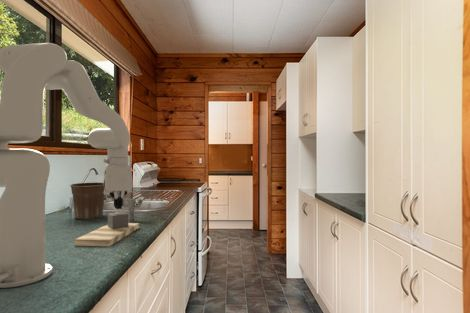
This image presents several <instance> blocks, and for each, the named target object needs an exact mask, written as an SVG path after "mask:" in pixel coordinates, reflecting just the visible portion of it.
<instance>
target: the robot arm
mask: <svg viewBox="0 0 470 313" xmlns="http://www.w3.org/2000/svg"><path fill="white" fill-rule="evenodd" d="M0 70H1V71H2V72H3V74H4V76H3V78H2V83H1V92H0V188H4V190H3V191H2V192H3V193H2V194H1V196H0V288H1V289H2V288H4V289H5V288H6V289H7V288H8V289H9V288H14V287H15V288H16V287H21V286H26V285H30V284H33V283H37V282H39V281H41V280H44V279H45V278H47V277H49V276H50V275H51V274H52V273H53V265H51V264H50V263H46V195H47V194H46V192H47V191H46V190H47V185H48V181H49V176H50V171H51V170H50V169H51V165H50V161H49V159H48V158H47V156H46V155H45V154H44V153H42V152H40V151H39V150H35V149H31V148H8V145H9V144H28V143H34V142H36V141H38V140H39V139H41V137H42V136H43V129H44V97H45V96H44V95H45V90H63V93H64V94H65V96H66V98H67V99H68V100H69V103H70V104H71V106H72V108H73V109H74V111H75V112H76V113H77V114H78V115H80V116H83V117H85V118H87V119H91V120H94V121H97V122H98V123H102V125H104V126H107V128H106V127H104V128H95V129H92V130H91V131H90V132H89V134H88V136H87V140H88V143H89V145H90V146H91V147H92V148H95V149H97V150H98V149H99V150H106V151H107V157H106V158H104V159H103V163H104V164H105V163H106V166H105V168H104V175H103V183H104V194H105V196H110V197H112V199H113V208H114V209H116V210H122V209H123V207H122V206H123V199H124V198H125V196H126V195H127V194H130V193H132V192H133V187H134V181H133V173H132V167H131V165H130V164H129V145H130V143H131V134H130V132H129V129H128V127H127V124H126V122H125V120H124V119H123V117H122V116H121V114H119V113H118V112H117V111H115V110H114V109H113V108H112V107H110V106H109V105H108V104H106V103H104V102H103V101H102V100H101V98H100V97H99V95H98V92H97V90H96V89H95V87H94V84H93V83H92V80H91V78H90V76H89V74H88V72H87V69H85V67H84V65H82V64H81V63H80V62H79V61H76V60H71V59H68V56H67V52H66V51H65V49H64V48H63V47H62V46H60V45H58V44H55V43H54V42H53V43H52V42H38V43H28V44H27V43H26V44H15V45H14V44H13V45H6V46H4V47H2V48H1V49H0Z"/></svg>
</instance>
